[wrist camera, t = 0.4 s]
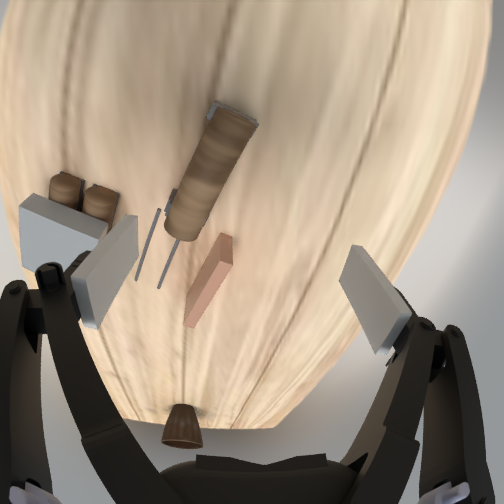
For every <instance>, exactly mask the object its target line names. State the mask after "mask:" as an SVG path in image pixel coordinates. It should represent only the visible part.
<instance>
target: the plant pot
mask: <svg viewBox="0 0 504 504" xmlns="http://www.w3.org/2000/svg"><path fill="white" fill-rule="evenodd" d="M161 443H163V444H164V445H167V446H170V447H176V448H182V449H198V448H202V447H203V442H202V436H201V431H200V427H199V423H198V420H197V417H196V414H195V411H194V409H193V407H192V406H189V405H186V404H176V405H174V407H173V409H172V411H171V413H170V415H169V417H168V420H167V422H166V425H165V428H164V432H163V436H162V441H161Z"/></svg>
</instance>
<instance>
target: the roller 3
mask: <svg viewBox="0 0 504 504" xmlns="http://www.w3.org/2000/svg"><path fill="white" fill-rule="evenodd" d="M256 127H257V126H256V125H255V124H254V123H252V122H251V121H249V120H248V119H246V118H244V117H242V116H240V115H238V114H236V113H234V112H231V111H229V110H226V109H224V108H220V107H217V109H216V111H215V112H214V114H213V116H212V118H211V120H210V122H209V124H208V126H207V128H206V130H205V132H204V134H203V136H202V138H201V140H200V142H199V144H198V146H197V148H196V150H195V153H194V155H193V157H192V159H191V161H190V163H189V166H188V168H187V170H186V172H185V174H184V177H183V179H182V181H181V184H180V186H179V188H178V190H177V193H176V195H175V198H174V200H173V202H172V205H171V207H170V210H169V212H168V215H167V217H166V220H165V222H164V228H165V230H166V231H167V232H168V233H169V234H170V235H171V236H172V237H174V238H176V239H178V240H181V241H187V242H189V241H194V240H196V239H197V237H198V235H199V233H200V231H201V229H202V227H203V225H204V223H205V221H206V219H207V217H208V215H209V213H210V211H211V209H212V207H213V205H214V204H215V202H216V200H217V198H218V196H219V194H220V192H221V190H222V188H223V186H224V184H225V183H226V181H227V179H228V177H229V175H230V173H231V171H232V170H233V168H234V166H235V164H236V162H237V160H238V159H239V157H240V155H241V153H242V151H243V150H244V148H245V146H246V144H247V142H248V141H249V139H250V137H251V135H252V134H253V132H254V130H255V129H256Z"/></svg>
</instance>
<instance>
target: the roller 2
mask: <svg viewBox="0 0 504 504" xmlns="http://www.w3.org/2000/svg"><path fill="white" fill-rule="evenodd" d="M116 202H117V195H116V193H115V192H114V191H112V190H110V189H107V188H104V187H101V186H94V187H90V188H88V189H87V190H86V192H85V196H84V201H83V207H82V213H84V214H86V215H89V216H91V217H94V218H96V219H99V220H101V221H104V222H106V223H109V224H108V229H107V234H108V233H109V231H110V227H111V223H112V218H113V214H114V210H115V206H116ZM107 234H106V235H107Z"/></svg>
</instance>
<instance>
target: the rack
mask: <svg viewBox="0 0 504 504" xmlns="http://www.w3.org/2000/svg"><path fill="white" fill-rule="evenodd" d="M217 107H220V108H224V109H226V110H229V111H231V112H234V113H236V114H238V115H240V116H242V117H244V118H246V119H248V120H249V121H251V122H252V123H254V124H255V125H256V126H257V127H258V125H259V124H258V122H257V121H256V120H255V119H253V118H251V117H249V116H247V115H245V114H243V113H241V112H239V111H237V110H234V109H232V108H230V107H228V106H226V105H224V104H221V103H219V102H217V101H214V103H213V105H212V107H211V109H210V111H209V113H208V115H207V116H206V118H208V120H209V121H210V120H211V118H212V116H213V114H214V112H215V111H216V109H217ZM257 127H256V128H257ZM255 130H256V129H255ZM255 130H254V132H255ZM254 132H253V134H254ZM253 134H252V135H253ZM252 135H251V137H252ZM251 137H250V138H251ZM176 193H177V190H175V189H173V191H172V193H171V195H170V198H169V200H168V203H167V205H166V208H165V210H164V211H165V212H166V213H165V216H167V215H168V212H169V210H170V207H171V205H172V202H173V200H174V198H175V195H176ZM208 217H209V215H208ZM208 217H207V219H208ZM207 219H206V221H207ZM206 221H205V223H206ZM205 223H204V225H205ZM204 225H203V227H204Z"/></svg>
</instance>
